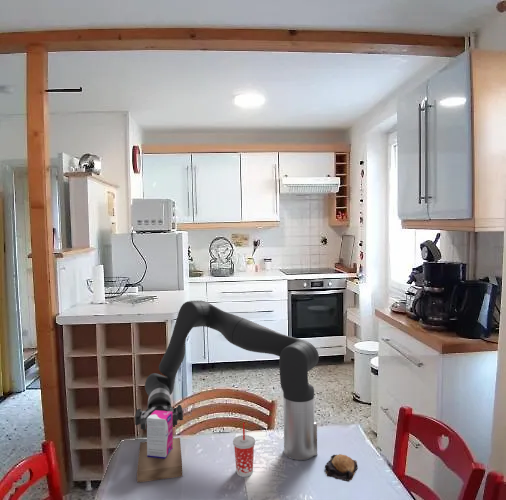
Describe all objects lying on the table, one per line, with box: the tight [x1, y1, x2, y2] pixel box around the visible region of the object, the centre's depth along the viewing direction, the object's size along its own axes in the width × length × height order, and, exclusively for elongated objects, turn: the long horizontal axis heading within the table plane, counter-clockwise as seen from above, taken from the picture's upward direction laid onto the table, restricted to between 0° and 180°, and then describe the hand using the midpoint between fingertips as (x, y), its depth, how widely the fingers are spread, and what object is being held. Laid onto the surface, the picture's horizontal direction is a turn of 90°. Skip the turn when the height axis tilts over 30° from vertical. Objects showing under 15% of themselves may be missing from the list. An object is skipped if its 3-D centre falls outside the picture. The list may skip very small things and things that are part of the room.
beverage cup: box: [232, 422, 256, 478], centre depth 115 cm, size 6×6×14 cm
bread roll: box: [324, 453, 358, 481], centre depth 117 cm, size 11×8×4 cm
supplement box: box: [146, 410, 174, 459], centre depth 121 cm, size 6×6×12 cm
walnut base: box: [136, 437, 183, 483], centre depth 121 cm, size 12×16×3 cm
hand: (159, 425), depth 122 cm, fingers open, 8 cm apart
